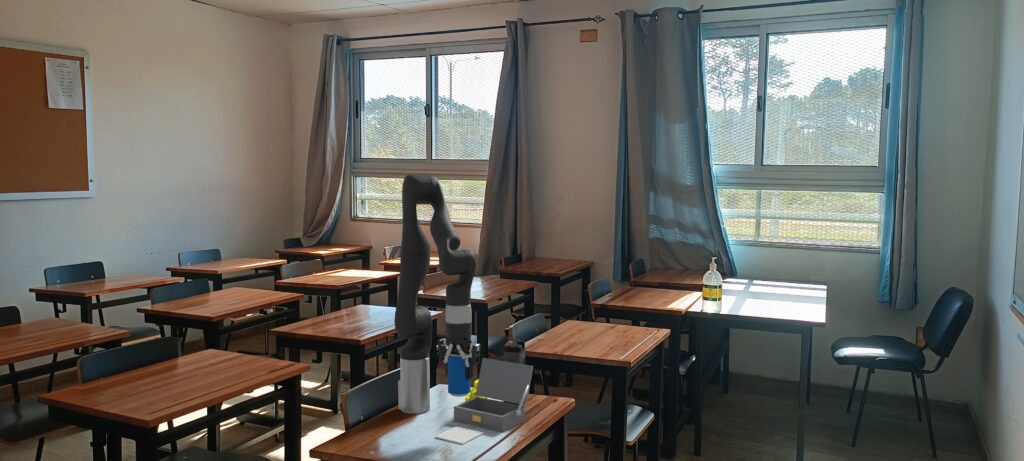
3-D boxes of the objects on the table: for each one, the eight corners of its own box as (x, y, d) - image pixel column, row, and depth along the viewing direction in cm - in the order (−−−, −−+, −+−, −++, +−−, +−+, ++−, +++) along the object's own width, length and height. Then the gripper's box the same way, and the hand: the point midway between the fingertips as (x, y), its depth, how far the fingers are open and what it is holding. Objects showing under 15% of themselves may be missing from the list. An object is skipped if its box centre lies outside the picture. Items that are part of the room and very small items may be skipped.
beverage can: (474, 392, 208) (473, 351, 207) (465, 398, 202) (464, 356, 201) (453, 389, 210) (453, 349, 209) (444, 396, 204) (443, 354, 203)
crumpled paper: (461, 403, 237) (460, 380, 237) (479, 398, 243) (479, 375, 242) (472, 407, 233) (472, 383, 232) (491, 402, 238) (490, 379, 238)
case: (451, 421, 219) (451, 369, 218) (484, 406, 233) (484, 357, 232) (504, 433, 209) (504, 378, 207) (535, 416, 223) (535, 365, 222)
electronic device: (520, 407, 232) (520, 346, 230) (502, 406, 233) (502, 346, 232) (525, 399, 241) (525, 340, 240) (508, 398, 242) (508, 339, 241)
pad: (435, 437, 205) (435, 436, 205) (456, 427, 214) (456, 426, 214) (463, 444, 200) (463, 443, 200) (483, 433, 208) (483, 432, 208)
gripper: (430, 319, 205) (431, 376, 207) (471, 324, 197) (471, 384, 199) (446, 315, 212) (447, 370, 213) (486, 320, 204) (487, 378, 205)
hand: (459, 377), depth 206 cm, fingers closed on beverage can, 6 cm apart
